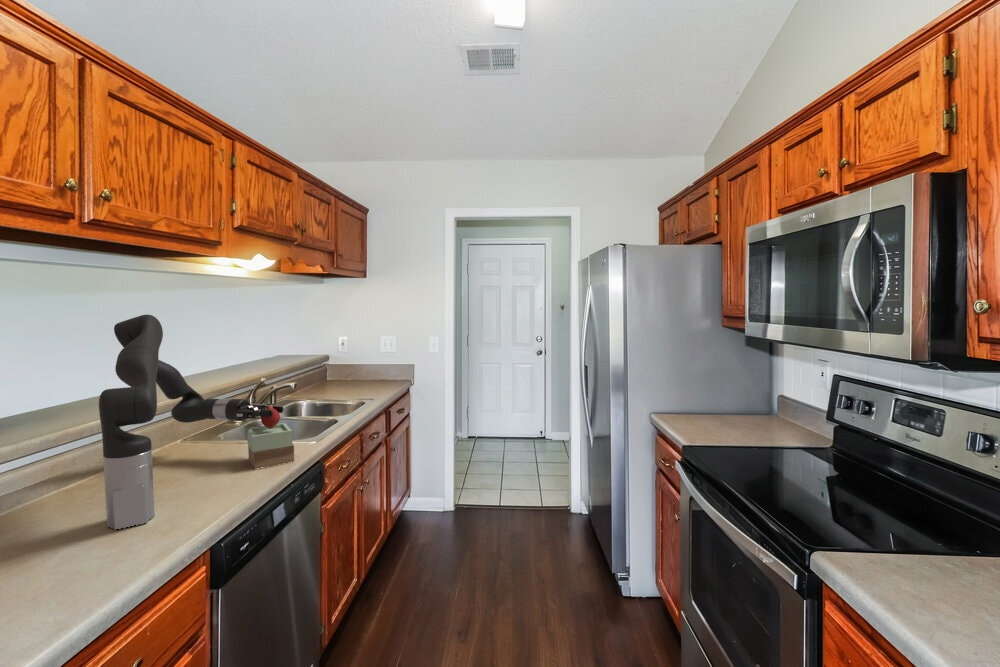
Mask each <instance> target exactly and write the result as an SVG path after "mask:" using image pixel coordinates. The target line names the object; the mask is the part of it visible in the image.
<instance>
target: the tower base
mask: <svg viewBox="0 0 1000 667" xmlns="http://www.w3.org/2000/svg"><path fill="white" fill-rule="evenodd" d="M247 445H248V444H247ZM247 449H248V460H250V461H249V462H250V464H251V463H252V464H251V465H253V466H252V467H253V469H254V468H255V469H254V470H258V469H257V468H260V469H262V468H261V467H265V468H268V467H267V466H270V467H274V466H273V465H276V466H279V465H278V464H281V465H284V464H283V463H286V464H289V463H288V462H291V461H294V462H295V446H294V443H292V446H287V447H281V448H275V449H269V450H263V451H257V452H252V450H251V448H250V446H249V445H248V446H247ZM291 463H292V462H291Z"/></svg>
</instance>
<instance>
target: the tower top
mask: <svg viewBox="0 0 1000 667" xmlns="http://www.w3.org/2000/svg"><path fill="white" fill-rule="evenodd" d="M246 433H247V434H246V435H247V436H246V437H247V445H249V446H250V448H251V450H252V452H257V451H263V450H269V449H275V448H281V447H287V446H292V444H293V430H292V429H291V428H290V426H288V424H287V423H285V422H283V423H282V422H281V423H277V424H276V425H275V426H274V427H273V428H272V429H270V428H268V427H266V426H264V425H260V426H253V427H247V428H246Z"/></svg>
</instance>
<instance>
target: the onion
mask: <svg viewBox="0 0 1000 667" xmlns="http://www.w3.org/2000/svg"><path fill="white" fill-rule="evenodd" d="M266 410H272V411H273V416H272V417H260V421H261V424H262V426H266V427H268V428H270V429H272V428H273V427H274V426H275V425H276V424H279V422H280V421H281V420H280V419H281V413H279V412H278V411H277V410H275V409H274V408H273V406H272V405H270V406H269V407H268V409H266Z"/></svg>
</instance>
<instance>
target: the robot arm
mask: <svg viewBox="0 0 1000 667" xmlns="http://www.w3.org/2000/svg"><path fill="white" fill-rule="evenodd" d="M113 331H114V336H115V337H116V339H117V341H118V343H119V344H120V345H121V347H123V348H122V349H121V350H120V352H119V353H118V355H117V359H116V362H115V363H116V364H115V367H114V369H115V370H114V371H115V373H116V376H117V378H118V379H119V380H120V381H121V382H123V383H124V384H125V385H127V386H128V387H120V388H119V387H115V388H107V389H105V390H103V391H101V393H100V395H99V398H98V412H99V421H100V426H101V427H100V428H101V436H102V439H101V440H102V457H103V458H102V459H103V460H102V461H103V475H104V476H103V477H104V478H103V479H104V497H105V511H106V512H105V513H106V526H107V528H109V527H110V528H109V529H113V528H114V529H113V530H114V531H117V530H116V529H119V530H122V529H121V528H123V529H127V528H126V527H128V528H131V527H130V526H132V527H135V526H134V525H136V526H140V525H143V524H144V523H145V524H147V523H148V522H149V521H150V520H152V519H153V518H154V517H155V511H156V510H155V496H154V495H155V493H154V492H155V490H154V473H153V472H154V470H153V469H154V468H153V450H152V449H153V448H152V447H153V446H152V445H153V444H152V439H151V438H150V437H149V436H146V435H143V434H142V435H141V434H134V433H130V432H128V431H125V430H123V429H122V428H121V427H122V426H125V427H126V426H132V425H140V424H141V425H142V424H147V423H150V422H151V421H153V419H154V418H155V416H156V414H157V411H158V410H157V409H158V396H157V386H158V387H159V388H160V390H161V392H162V393H163V395H165V396H164V397H166V398H167V399H168V400H177V399H180V398H182V399H181V400H180V401H178V402H177V403H176V404H175V405H174V406H173V407H172V409H171V412H170V415H171V417H172V419H173V420H175V421H177V422H179V423H184V424H187V423H188V424H189V423H195V422H198V421H199V422H200V421H204V420H221V421H227V422H228V421H231V422H244V421H246V420H247V419H249V420H251V419H252V420H253V419H254V420H255V419H257V418H260V419H261V417H272V416H273V411H272V410H266V409H268V407H269V406H270V405H272V406H273V408H274V409H275V410H277V411H278V412H279V414H283V413H284V406H281V405H279V406H278V405H276V403H268V402H260V403H250V401H249V400H248V399H246V398H230V397H229V398H206V399H205V398H204V397H203V396H202V395H201V394H200V393H198V392H197V391H196V390H195V389H194V388H193V387H191V386H190V385H189V384H188V383H187V381H186V380H185V378H184V377H183V375H182V374H181V372H180V371H179V370H178V369H177V368H176V367H174V366H172V365H171V364H169V363H167V362H165V361H162V360H160V359H159V354H160V353H159V352H160V348H161V344H162V341H163V338H164V330H163V327H162V324H161V322H160V321H159V319H158V318H157V317H156V316H154V315H152V314H142V315H138V316H134V317H132V318H129V319H126V320H123V321H120V322H117V323H116V324H114V327H113ZM139 524H140V525H139Z"/></svg>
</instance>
